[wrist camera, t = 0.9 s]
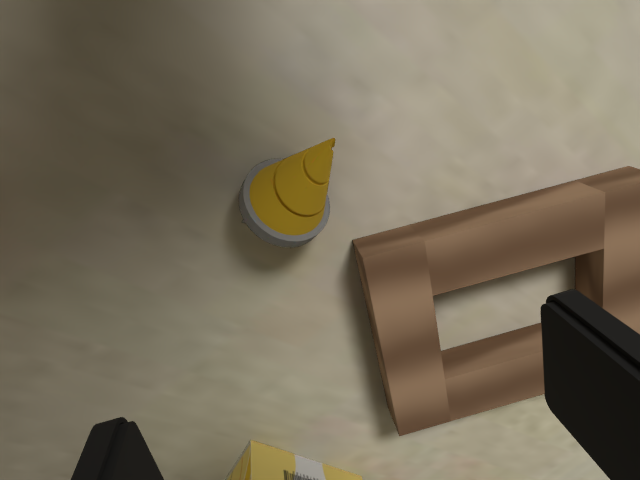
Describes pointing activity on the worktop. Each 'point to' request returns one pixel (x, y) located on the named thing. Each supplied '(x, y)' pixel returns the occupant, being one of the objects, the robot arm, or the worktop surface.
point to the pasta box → (282, 466)
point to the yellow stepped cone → (288, 196)
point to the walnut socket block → (486, 264)
